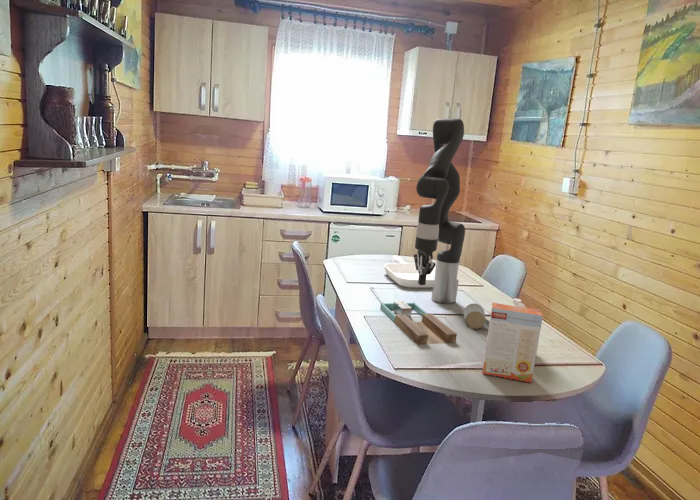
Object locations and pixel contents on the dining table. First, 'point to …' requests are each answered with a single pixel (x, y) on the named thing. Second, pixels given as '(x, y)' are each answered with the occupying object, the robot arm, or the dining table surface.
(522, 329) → the cracker box
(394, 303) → the metal block
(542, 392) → the dining table surface
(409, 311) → the metal block
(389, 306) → the teal tray
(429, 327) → the walnut slot board
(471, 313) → the ceramic mug
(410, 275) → the pan
